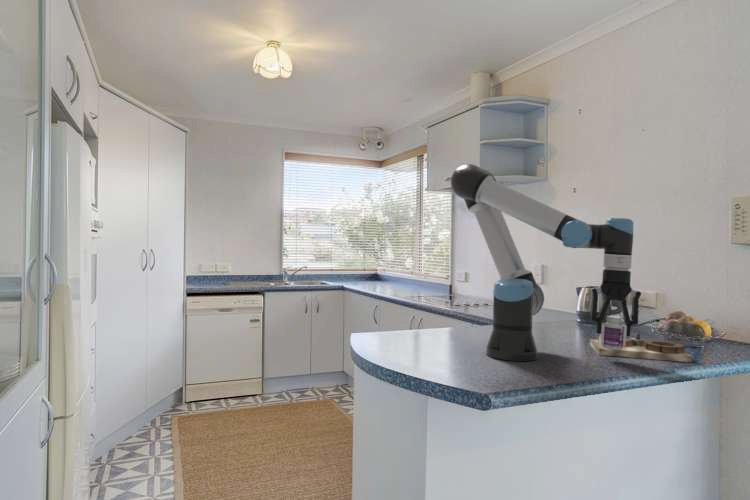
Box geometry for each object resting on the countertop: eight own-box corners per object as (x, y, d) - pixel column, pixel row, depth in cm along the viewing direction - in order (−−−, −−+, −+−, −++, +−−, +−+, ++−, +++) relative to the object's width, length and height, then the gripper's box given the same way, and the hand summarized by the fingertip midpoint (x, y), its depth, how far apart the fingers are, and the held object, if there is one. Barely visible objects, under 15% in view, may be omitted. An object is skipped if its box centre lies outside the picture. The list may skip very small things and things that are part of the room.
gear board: (599, 354, 150) (599, 334, 150) (590, 344, 167) (590, 326, 167) (692, 362, 143) (692, 341, 143) (673, 351, 160) (673, 332, 160)
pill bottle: (624, 351, 139) (626, 318, 139) (604, 349, 141) (606, 317, 140) (618, 347, 145) (620, 316, 145) (600, 345, 146) (602, 314, 146)
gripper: (586, 267, 141) (581, 344, 142) (654, 272, 136) (649, 351, 137) (582, 266, 148) (577, 340, 149) (647, 271, 143) (642, 346, 144)
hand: (612, 345), depth 143 cm, fingers closed on pill bottle, 5 cm apart
